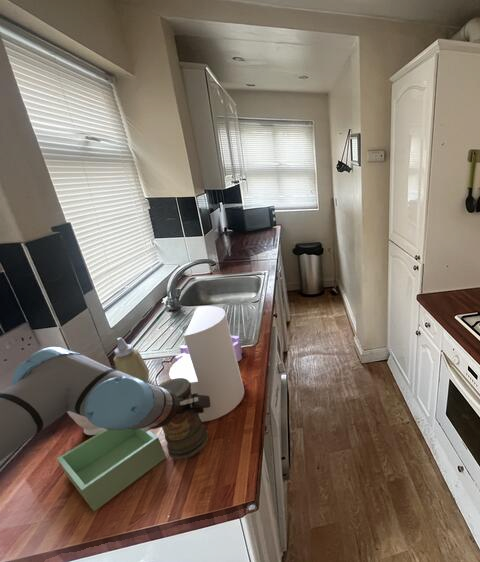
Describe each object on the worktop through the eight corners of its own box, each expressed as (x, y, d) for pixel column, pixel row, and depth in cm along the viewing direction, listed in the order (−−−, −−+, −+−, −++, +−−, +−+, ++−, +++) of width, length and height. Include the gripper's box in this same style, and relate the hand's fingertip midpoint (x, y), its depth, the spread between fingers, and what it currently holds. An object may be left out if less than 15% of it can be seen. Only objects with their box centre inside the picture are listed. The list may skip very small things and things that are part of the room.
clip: (243, 346, 121) (239, 331, 118) (241, 364, 110) (237, 348, 108) (186, 358, 115) (181, 342, 112) (178, 378, 104) (173, 362, 102)
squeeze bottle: (151, 387, 101) (133, 340, 94) (120, 396, 97) (99, 348, 90) (153, 373, 107) (136, 329, 101) (125, 381, 104) (105, 336, 97)
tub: (68, 478, 72) (56, 458, 69) (138, 433, 84) (129, 414, 81) (94, 511, 65) (81, 490, 62) (166, 457, 76) (158, 437, 74)
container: (173, 436, 81) (152, 382, 74) (210, 426, 84) (193, 372, 77) (164, 466, 73) (140, 408, 66) (206, 453, 76) (187, 396, 69)
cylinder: (245, 375, 105) (228, 302, 94) (242, 412, 89) (221, 329, 79) (189, 388, 100) (164, 311, 89) (175, 429, 84) (143, 343, 74)
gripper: (82, 448, 54) (135, 443, 73) (212, 409, 61) (229, 414, 81) (83, 405, 56) (134, 411, 76) (208, 372, 64) (224, 386, 84)
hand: (183, 412), depth 79 cm, fingers closed on container, 8 cm apart
